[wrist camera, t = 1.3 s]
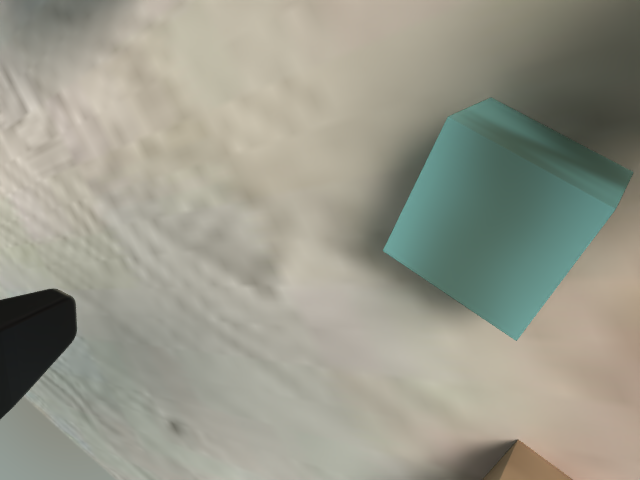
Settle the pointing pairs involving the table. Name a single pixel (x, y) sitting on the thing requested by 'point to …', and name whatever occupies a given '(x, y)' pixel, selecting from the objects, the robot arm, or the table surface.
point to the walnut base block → (524, 466)
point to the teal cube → (504, 212)
